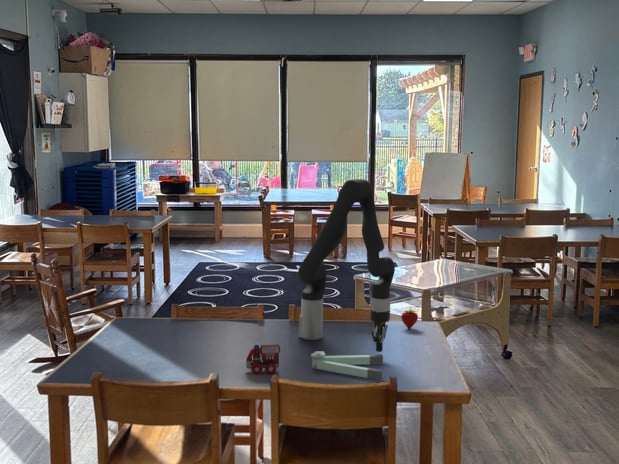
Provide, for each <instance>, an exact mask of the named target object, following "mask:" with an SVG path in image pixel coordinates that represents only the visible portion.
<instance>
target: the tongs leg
mask: <svg viewBox="0 0 619 464" xmlns="http://www.w3.org/2000/svg"><path fill="white" fill-rule="evenodd" d="M320 359H321V357H320V358H312V357H311V368H312V369H313V370H321V371H326V372H332V373H337V374H338V373H339V374H344V375H348V376H354V377H360V378H364V379H365V378H366V379H370V380H377V381H381V380H382V379H383V369H379V368H372V367H364V366H360V365H359V366H358V365H347V364H342V363H336V362H330V361H325V360H320Z"/></svg>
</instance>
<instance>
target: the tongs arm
mask: <svg viewBox="0 0 619 464" xmlns="http://www.w3.org/2000/svg"><path fill="white" fill-rule="evenodd" d="M310 356H311V359H312V358H320V360H325V361H330V362H336V363H342V364H347V365H353V366H358V365H359V366H360V365H362V366H363V365H384V356H383V354H381V353H380V354H379V353H378V354H365V355H364V354H363V355H360V354H359V355H357V354H356V355H355V354H354V355H353V354H351V355H326V353H325V351H323V350H322V351H320V350H319V351H314V352H313V353H311V354H310Z"/></svg>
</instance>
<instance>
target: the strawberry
mask: <svg viewBox="0 0 619 464" xmlns="http://www.w3.org/2000/svg"><path fill="white" fill-rule="evenodd" d="M409 307H410V309H409V310H404V312H403V313H402V314H401V321H402V322H403V324H404V325H405V327H407V329H409V330H410V329H411V328H413V326H414V325H416V323H417V321H418V319H419V315H418V314H417V312H416V311H415V310H412V307H411V306H409Z"/></svg>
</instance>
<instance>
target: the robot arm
mask: <svg viewBox="0 0 619 464" xmlns="http://www.w3.org/2000/svg"><path fill="white" fill-rule="evenodd" d="M373 191H374V190H373V188H372V185H371V182H369V181H368V180H367V179H363V178H350V179H347V180H346V181H345V182H344V183H343V185H342V186H341V189H340V191H339V193H338V196H337V199H336V201H335V203H334V205H333V207H332V209H331V212H330V213H329V214H328V215H329V216H328V217H327V219H326V221H325V222H324V224H323V226H322V227H321V230H320V232H319V234H318V236H317V238H316V240H315V241H314V243H313V245H312V246H311V249H310V250H309V252H308V253H307V255H306V256H305V258H304V259H303V260H302V261H301V263H300V265H299V266H298V270H297V277H298V279H299V281H300V282H301V283H302V284H306V286H305V288H304V289H302V291H301V297H300V299H301V302H300V303H301V306H300V307H301V308H300V311H301V312H300V315H298V316H299V318H298V322H299V323H298V337H299V338H301V339H303V340H306V341H318V340H321V339H323V326H324V325H323V321H324V318H323V317H324V315H323V314H324V294H325V292H326V285H327V268H326V265H325V263H324V261H325V260H326V258H327V257H328V256H330V254H332V253H333V252H334V251H335V249H336V248H337V247H338V246H339V245H340V244H341V243H342V241H343V238H344V237H345V234H346V232H347V230H348V229H347V227H348V223H347V222H348V214H349V212H350V211H351V208H352V207H353V206H354V205H355V204H356V203H359V205H360V208H361V211H362V224H361V235H362V238H363V242H364V246H365V248H366V264H367V265H366V266H367V270H368V272H369V274H370V275H371V276H372V277H374V278H378V279H377V280H375V281H374V282H373V283H372V284H371V300H370V321H372V322H374V325H373V331H372V332H371V336H372V337H371V338H372V339H373V342H374V343H376V344H375V345H376V346H375V348H376V349H375V351H376V352H377V353H381V352H382V351H383V350H384V348H383V346H384V343H383V342H384V340H385V338H386V335H387V330H388V324H386V323H388V322H390V320H391V298H390V297H391V296H390V295H391V287H392V286H391V285H392V282H393V279H394V275H395V271H396V266H395V262H394V260H393V259H392V258H391V257H389V256H384V257H380V253H381V252H382V251H384V249H385V242H384V240H383V237H382V234H381V231H380V227H379V224H378V219H377V218H378V217H377V211H376V206H375V198H374V193H373Z"/></svg>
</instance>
